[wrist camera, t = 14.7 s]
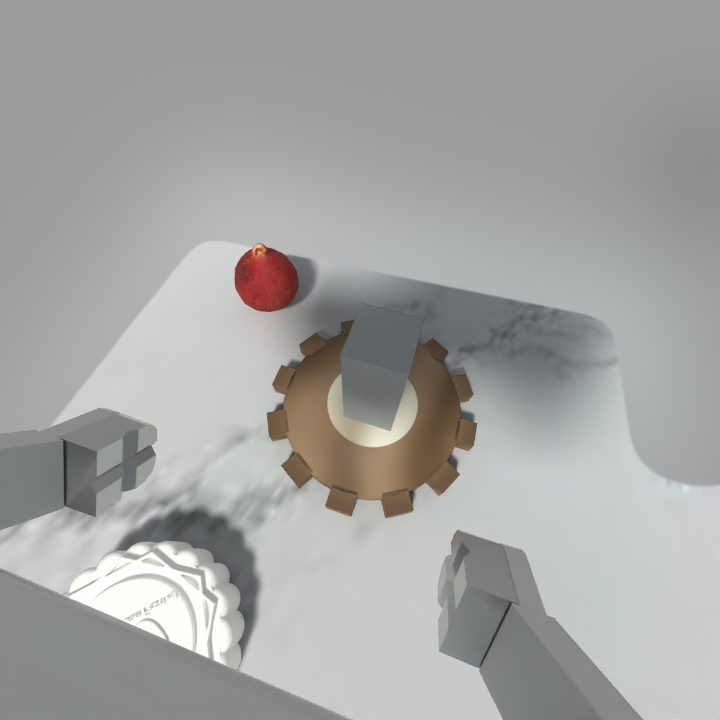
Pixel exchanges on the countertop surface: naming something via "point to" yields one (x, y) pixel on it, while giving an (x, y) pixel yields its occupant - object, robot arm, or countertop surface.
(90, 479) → the robot arm
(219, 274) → the countertop surface
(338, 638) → the countertop surface
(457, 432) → the sprocket
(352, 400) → the gray rectangular block
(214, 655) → the mooncake
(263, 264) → the red fruit
